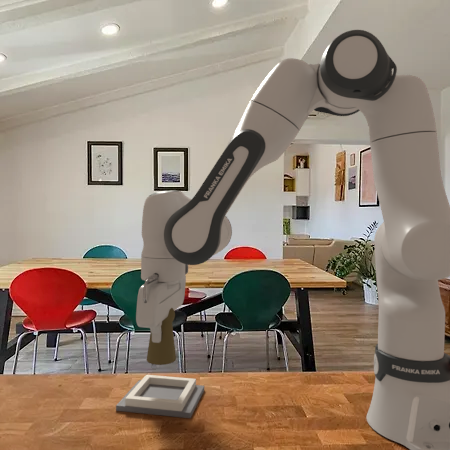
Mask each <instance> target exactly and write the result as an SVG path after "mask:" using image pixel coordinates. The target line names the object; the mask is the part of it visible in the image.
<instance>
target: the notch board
mask: <svg viewBox="0 0 450 450" xmlns="http://www.w3.org/2000/svg"><path fill="white" fill-rule="evenodd" d="M204 392H205V385H199V384H197V378H193V377H192V378H191V377H180V376H179V377H178V376H168V375H167V376H165V375H155V374H146V375H144V377H142V379H139V380H138V381H136V382H135V384H134V385H133V386H132V387H131V388H130V390H128V392H127V393H126V394H125V395H124V396H123V397H122V399H121V400H120V401H119V402H117V404H116V405H115V411H116V412H124V413H125V412H126V413H135V414H136V413H137V414H144V415H145V414H146V415H154V416H165V417H175V418H184V419H192V417H193V414H194V411H195V410H196V408H197V406H198V404H199V402H200V400H201V398H202V395H203V394H204Z"/></svg>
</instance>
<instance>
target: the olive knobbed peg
mask: <svg viewBox="0 0 450 450" xmlns="http://www.w3.org/2000/svg"><path fill="white" fill-rule="evenodd" d="M175 317H176V313H175V311H174V309H173V308H171V309H170V310H169V314H168V317H167V318H165V319H164V320H163V321H162V325H161V332H163V336H162V337H163V339H162V340H161V341H160V342H159V343H155V342H152V333H151V332H150V334H149V340H148V348H147V354H146V362H147V363H148V364H151V365H155V366H156V365H157V366H163V365H170V364H173V363H174V362H175V361H176V360H177V354H176V345H175V336H174V328H173V322H174V320H175Z"/></svg>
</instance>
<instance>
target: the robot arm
mask: <svg viewBox="0 0 450 450" xmlns="http://www.w3.org/2000/svg"><path fill="white" fill-rule="evenodd" d="M397 71H398V68H397V64H396V63H395V62H394V61H393V59H392V58H391V56H390V55H389V54H388V52H387V51H386V49H385V47H384V45H383V43H382V42H381V41H380V40H379V39H378V38H377V36H375V35H374V34H373V33H372V32H370V31H368V30H367V31H366V30H364V29H351V30H348V31H345V32H342V33H341V34H339V35H338V36H336V37H335V38H334V39H333V40H331V42H330V43H329V44H328V45H327V46H326V49H325V50H324V51H323V54H322V55H321V59H320V63H319V62H318V63H315V64H314V63H313V64H312V63H307V62H306V61H304V60H301V59H298V58H291V57H289V58H285V59H282V60H281V61H279V62H277V64H276V65H275V66H274V67H273V68H272V69H271V70H270V71H269V73H268V74H267V75H266V77H265V78H264V79H263V80H262V82H261V83H260V84H259V86H258V87H257V89H256V90H255V92H254V93H253V94H252V95H253V96H252V97H251V98H250V100H249V102H248V103H247V105H246V107H245V109H244V110H243V113H242V115H241V116H240V118H239V120H238V123H237V125H236V126H235V129H234V131H233V133H232V135H231V137H230V139H229V141H228V143H227V145H226V147H225V149H224V151H223V152H222V154H220V157H219V158H218V159H217V161H216V162H215V164H214V165H213V167H212V168H211V170H210V172H209V173H208V175H207V177H206V178H205V179H204V181H203V183H202V184H201V185H200V187H199V189H198V190H197V191H196V194H194V196H193V197H192V198H190V197H188V196H187V195H186V194H185V193H183V191H180V190H176V189H174V190H162V191H158V192H153V193H151V194H150V195H148V196H147V197H146V199H145V201H144V205H143V208H142V221H141V237H142V241H143V245H142V246H143V247H142V249H141V250H142V251H141V257H140V259H141V262H140V273H141V274H140V278H141V280H142V281H144V284H142V285H141V286H140V287H139V289H138V294H137V298H136V300H137V301H136V310H135V311H136V312H135V322H136V325H137V326H138V327H139V328H147V329H150V333H152V342H155V343H159V342H160V341H161V340H162V339H163V337H162V336H163V332H161V325H162V321H163V320H164V319H165V318H167V317H168V314H169V310H170V309H171V308H173V309H174V312H175V311H176V310H177V309H178V308H179V307H180V306H182V305H183V303H184V300H185V295H186V293H185V292H186V282H187V276H186V275H188V273H189V266H196V265H201V264H204V263H205V262H208V261H209V260H210V259H211V258H212V257H213V256H215V255H217V254H218V253H219V252H221V251H223V250H224V249H225V248H226V247H227V246H228V245H229V243H230V242H231V239H232V235H233V230H232V229H233V227H232V224H231V222H230V219H229V218H228V216H227V213H228V212H229V211H230V209H231V207H232V205H233V204H234V203H235V201H236V200H237V199H238V196H239V195H240V193H241V192H242V190H243V189H244V187H245V186H246V184H247V182H248V181H249V180H250V179H251V177H252V176H254V174H256V173H257V172H258V171H260V170H261V169H262V168H264V167H266V166H268V165H269V164H271V163H273V162H276V161H277V160H278V159H280V158H281V156H282V155H283V154H284V153H285V152H286V151H287V149H288V148H289V147H290V146H291V144H292V143H293V142H294V141H295V139H296V137H297V135H298V133H299V132H300V131H301V129H302V127H303V126H304V124H305V122H306V121H307V118H308V117H310V115H311V114H312V112H313V111H315V112H318V113H323V114H328V115H332V116H336V117H349V116H352V115H355V114H357V113H358V112H360V113H362V114H363V116H364V117H365V119H366V122H367V126H368V128H369V129H368V130H369V132H368V134H369V145H370V155H371V156H370V157H371V166H372V174H373V185H374V188H375V191H376V195H377V198H378V201H379V205H380V210H381V215H382V220H383V222H382V223H381V224H380V225H379V227H378V228H377V230H376V232H375V234H374V240H373V243H374V261H375V277H376V278H375V279H376V288H377V298H378V299H377V300H378V317H377V319H378V321H377V324H378V325H377V344H376V345H375V346H374V347H375V349H374V356H373V372H374V373H373V374H374V377H375V379H374V385H373V386H374V387H373V393H372V398H371V402H370V405H369V407H368V410H367V414H366V422H367V423H368V425H369V426H370V427H371V428H372V429H373V431H375V432H376V433H378V434H379V435H381V436H383V437H385V439H389V440H391V441H394V442H395V443H398V444H401V445H403V446H404V447H406V448H407V449H409V450H450V355H449V354H447V353H446V352H445V337H446V336H445V335H446V334H445V333H446V332H445V331H446V309H445V306H444V303H443V300H442V295H441V291H440V286H439V285H440V284H439V281H441V280H443V279H447V278H449V277H450V202H449V199H448V196H447V192H446V189H445V185H444V182H443V178H442V171H441V164H440V163H441V162H440V151H439V143H438V142H439V141H438V133H437V125H436V119H435V114H434V109H433V108H434V107H433V104H432V100H431V96H430V93H429V91H428V88H427V85H426V83H425V81H424V80H422V79H421V78H420V77H418V76H416V75H411V74H397V73H398V72H397Z"/></svg>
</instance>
